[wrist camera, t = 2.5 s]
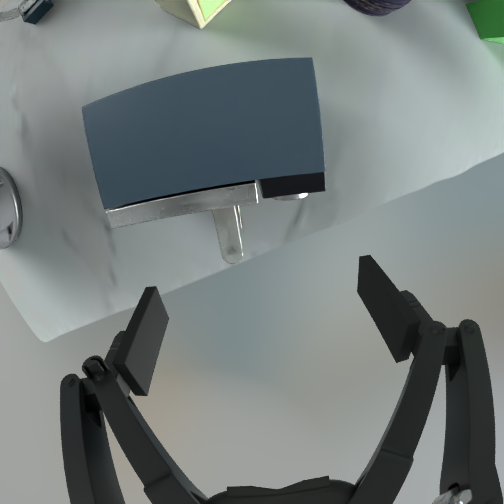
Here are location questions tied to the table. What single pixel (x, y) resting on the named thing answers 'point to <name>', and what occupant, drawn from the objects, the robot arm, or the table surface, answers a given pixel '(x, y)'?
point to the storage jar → (376, 6)
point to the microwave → (210, 133)
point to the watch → (28, 11)
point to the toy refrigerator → (193, 10)
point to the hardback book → (488, 19)
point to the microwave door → (211, 198)
